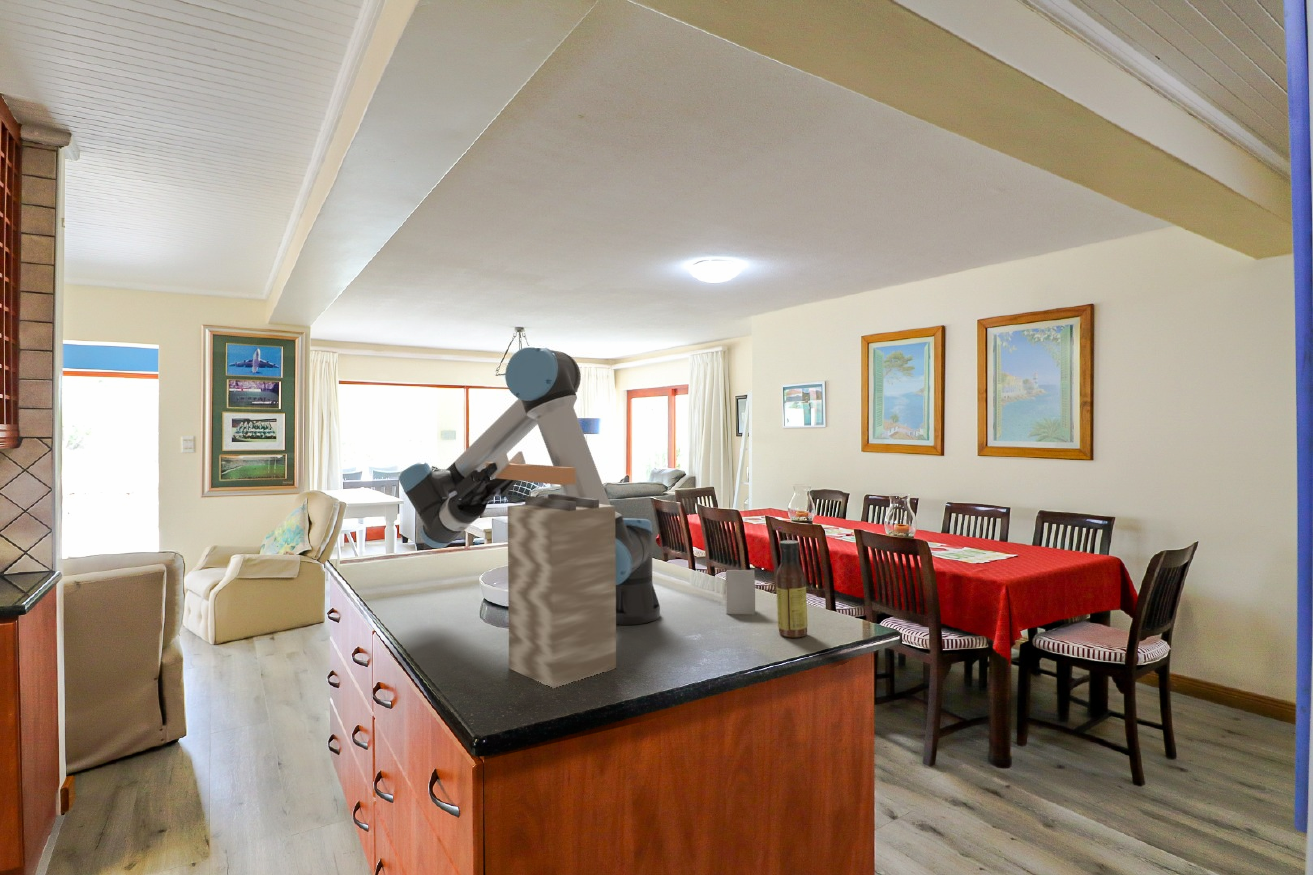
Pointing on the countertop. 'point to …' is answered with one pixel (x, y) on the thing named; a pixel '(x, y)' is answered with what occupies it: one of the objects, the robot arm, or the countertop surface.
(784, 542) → the sauce bottle
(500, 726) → the countertop surface
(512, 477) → the orange bar
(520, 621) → the grey-brown tall block
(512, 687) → the countertop surface
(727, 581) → the light grey block
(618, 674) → the countertop surface
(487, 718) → the countertop surface
